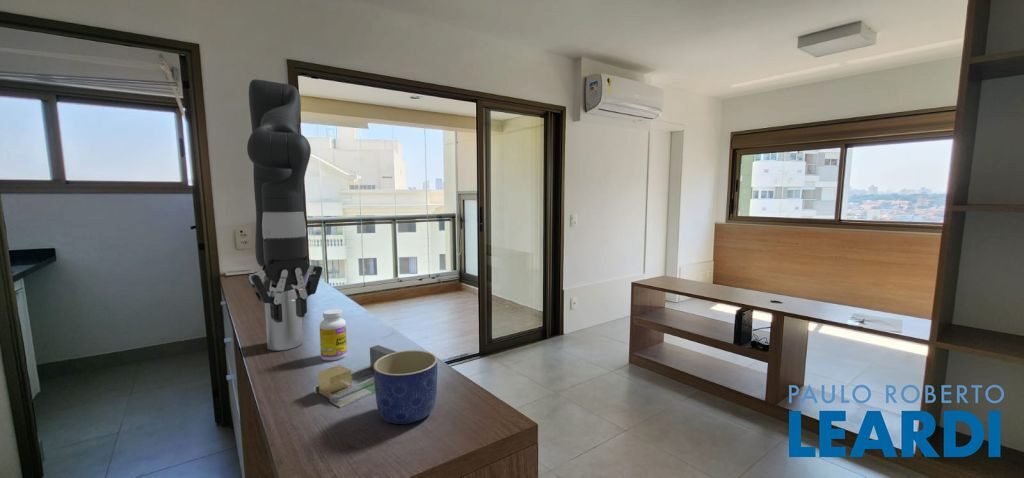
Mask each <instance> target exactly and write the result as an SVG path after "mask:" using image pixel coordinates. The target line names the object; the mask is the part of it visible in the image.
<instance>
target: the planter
mask: <svg viewBox="0 0 1024 478" xmlns="http://www.w3.org/2000/svg"><path fill="white" fill-rule="evenodd" d="M373 377H374V381H375V392H374V393H375V400H376V401H375V402H376V406H377V407H376V408H377V410H378V414H379V415H380V416H381V418H382V419H384V421H387V422H388V423H391V424H396V425H407V424H412V423H415V422H418V421H421V420H423V419H425V418H426V417H427V416H428V415H430V414H431V413H432V411H433V410H434V408H435V404H436V401H437V392H438V391H437V390H438V358H437V356H436V355H435V354H434V353H431V352H428V351H424V350H416V349H414V350H413V349H411V350H410V349H409V350H401V351H400V350H399V351H396V352H395V353H391V354H388V355H385V356H383V357H381V358H379V359H378V360H377V361H376V362H375V363H374V372H373Z"/></svg>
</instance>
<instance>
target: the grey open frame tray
mask: <svg viewBox="0 0 1024 478" xmlns="http://www.w3.org/2000/svg"><path fill="white" fill-rule="evenodd" d="M395 352H397V351H396V350H393V349H391V348H387V347H385V346H382V345H378V344H377V345H374V346H370V347H369V361H370V364H369V365H366V366H363V367H361V368H358V369H356V370H353V371H351V378H352V381H353V380H355V379H358V378H360V377H362V376H365V375H366V376H367V375H368V374H370V373H374V363H375V362H376V361H377V360H378V359H379V358H381V357H383V356H385V355H388V354H391V353H395ZM312 387H313V389H312V390H313V394H316V395H317V394H320V393H319V383H318V384H316V385H313V386H312ZM374 393H375V381H374V376H372V377H371V378H368V379H365V380H363V381H361V382H358V383H355V384H352V387H351V388H349V389H348V388H346V389H343V390H341V391H338V392H336V393H333V394H331V395H329V398H330V399H329V398H328V399H329V402H330V403H332V405H335V406H336V407H338V408H343V407H345V406H347V405H349V404H351V403H355V402H357V401H358V400H361V399H363V398H365V397H367V396H370V395H372V394H374Z"/></svg>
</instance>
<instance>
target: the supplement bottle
mask: <svg viewBox="0 0 1024 478" xmlns="http://www.w3.org/2000/svg"><path fill="white" fill-rule="evenodd" d="M342 315H343V311H342V310H341V309H337V308H336V309H328V310H324V311H323V312H322V317H323V320H322V321H321V322H320V323H319V344H320V345H319V347H320V358H321V360H323V361H330V362H331V361H338V360H340V359H341V360H342V359H344V358H345V357H346V356H347V354H348V346H347V345H348V342H347V340H348V339H347V322H346V320H345V319H344V318H342Z"/></svg>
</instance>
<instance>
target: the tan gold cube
mask: <svg viewBox="0 0 1024 478" xmlns="http://www.w3.org/2000/svg"><path fill="white" fill-rule="evenodd" d="M351 372H352V369H349V368H347V367H346V366H343V365H340V364H337V365H334V366H331V367H328V368H326V369H323V370H320V371H318V372H317V378H318V381H317V383H318V384H319V393H318V394H320V395H322V396H324V397H325V398H328V399H329V400H330V398H329V395H331V394H333V393H336V392H338V391H341V390H343V389H346V388H348V389H349V388H351V387H352V386H353V384H352V383H353V380H352V378H351Z"/></svg>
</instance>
